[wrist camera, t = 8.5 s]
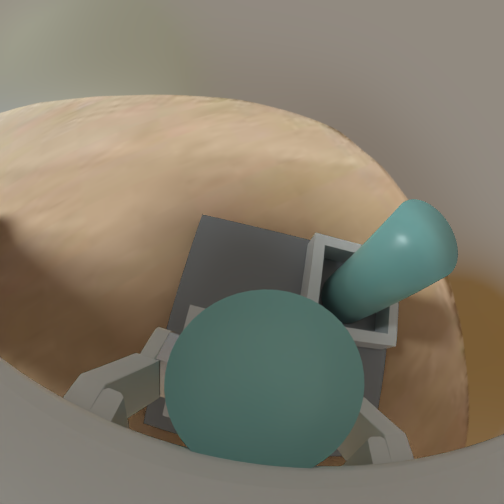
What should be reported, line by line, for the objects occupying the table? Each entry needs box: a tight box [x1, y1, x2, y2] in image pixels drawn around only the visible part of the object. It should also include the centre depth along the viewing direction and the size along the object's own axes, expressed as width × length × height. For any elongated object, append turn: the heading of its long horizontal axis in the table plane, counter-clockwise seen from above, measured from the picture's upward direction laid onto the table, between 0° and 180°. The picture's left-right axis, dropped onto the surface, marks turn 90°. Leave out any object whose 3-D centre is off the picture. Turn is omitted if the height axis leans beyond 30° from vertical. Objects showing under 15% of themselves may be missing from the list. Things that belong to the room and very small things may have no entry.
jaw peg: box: [164, 289, 364, 468], centre depth 9 cm, size 4×4×10 cm
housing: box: [144, 199, 458, 456], centre depth 14 cm, size 16×16×11 cm
